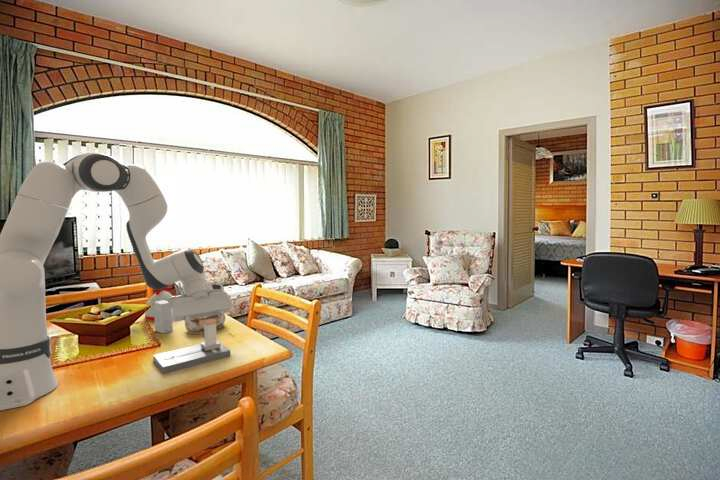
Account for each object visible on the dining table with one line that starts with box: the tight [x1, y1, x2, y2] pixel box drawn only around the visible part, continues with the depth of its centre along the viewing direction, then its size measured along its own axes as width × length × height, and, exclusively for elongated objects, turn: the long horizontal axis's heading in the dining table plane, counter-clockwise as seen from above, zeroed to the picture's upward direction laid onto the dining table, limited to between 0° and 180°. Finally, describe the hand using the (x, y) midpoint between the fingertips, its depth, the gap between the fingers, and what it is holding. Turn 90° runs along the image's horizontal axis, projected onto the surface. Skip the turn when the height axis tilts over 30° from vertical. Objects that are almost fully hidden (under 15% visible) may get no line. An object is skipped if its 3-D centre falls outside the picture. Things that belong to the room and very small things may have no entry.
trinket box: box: [184, 313, 226, 335], centre depth 154 cm, size 13×15×8 cm
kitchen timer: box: [144, 286, 174, 322], centre depth 169 cm, size 14×14×15 cm
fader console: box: [152, 340, 231, 374], centre depth 125 cm, size 21×12×2 cm, turn 132°
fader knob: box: [200, 318, 222, 351], centre depth 128 cm, size 5×5×10 cm
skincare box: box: [154, 300, 174, 334], centre depth 150 cm, size 6×4×12 cm
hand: (208, 326), depth 129 cm, fingers open, 8 cm apart
